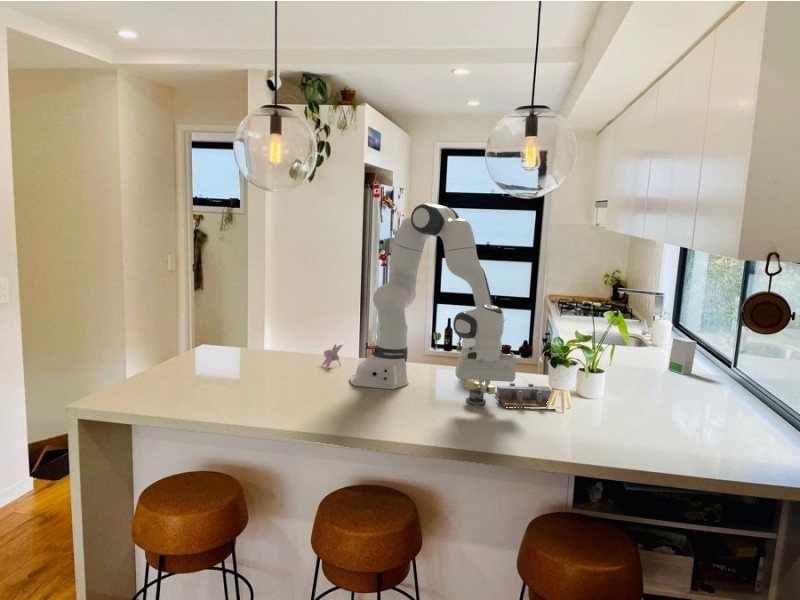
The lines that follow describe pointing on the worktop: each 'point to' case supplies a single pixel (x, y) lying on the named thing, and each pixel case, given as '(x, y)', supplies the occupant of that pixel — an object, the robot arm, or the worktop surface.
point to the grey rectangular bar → (528, 392)
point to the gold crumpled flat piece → (479, 386)
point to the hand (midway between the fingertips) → (483, 392)
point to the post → (475, 398)
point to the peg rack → (523, 403)
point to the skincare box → (682, 355)
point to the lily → (331, 355)
